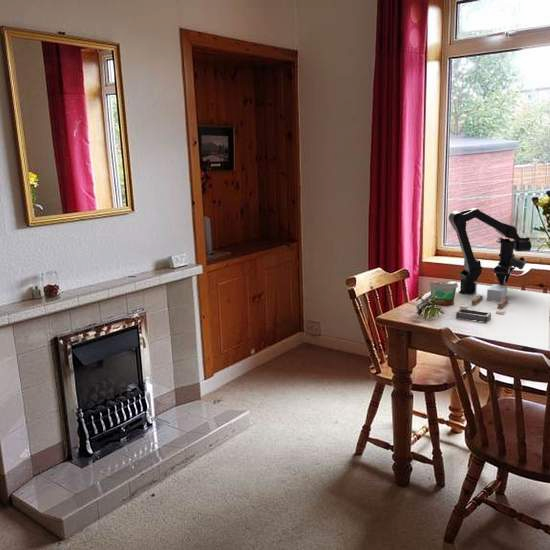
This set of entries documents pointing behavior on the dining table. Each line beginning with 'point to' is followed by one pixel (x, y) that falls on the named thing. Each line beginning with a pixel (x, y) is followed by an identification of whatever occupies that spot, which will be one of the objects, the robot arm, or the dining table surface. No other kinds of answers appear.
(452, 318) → the dining table surface
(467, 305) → the tiles
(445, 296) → the food container
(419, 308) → the green spiky leafy piece
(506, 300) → the lane
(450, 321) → the dining table surface
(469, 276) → the robot arm
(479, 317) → the tray
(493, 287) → the block
